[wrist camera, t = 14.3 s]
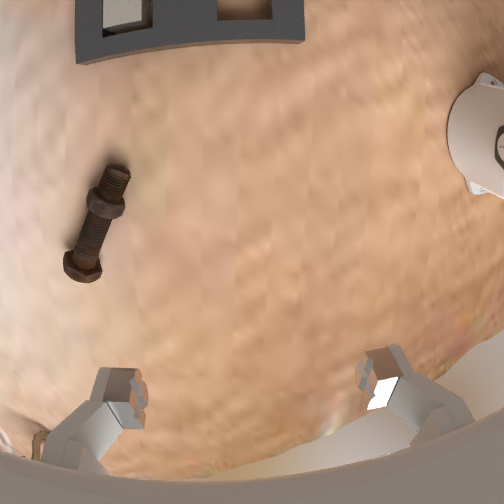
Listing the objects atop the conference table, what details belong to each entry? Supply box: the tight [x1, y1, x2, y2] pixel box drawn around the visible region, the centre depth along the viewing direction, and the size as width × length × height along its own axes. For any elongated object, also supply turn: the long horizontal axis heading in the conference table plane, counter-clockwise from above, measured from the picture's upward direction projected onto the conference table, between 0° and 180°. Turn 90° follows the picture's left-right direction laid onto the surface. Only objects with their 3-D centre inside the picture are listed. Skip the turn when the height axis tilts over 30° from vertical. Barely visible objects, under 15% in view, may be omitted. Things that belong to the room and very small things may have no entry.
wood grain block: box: [103, 0, 152, 34], centre depth 24 cm, size 4×4×5 cm
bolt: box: [63, 164, 131, 283], centre depth 36 cm, size 6×5×15 cm
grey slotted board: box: [75, 0, 305, 65], centre depth 25 cm, size 24×10×3 cm, turn 92°
